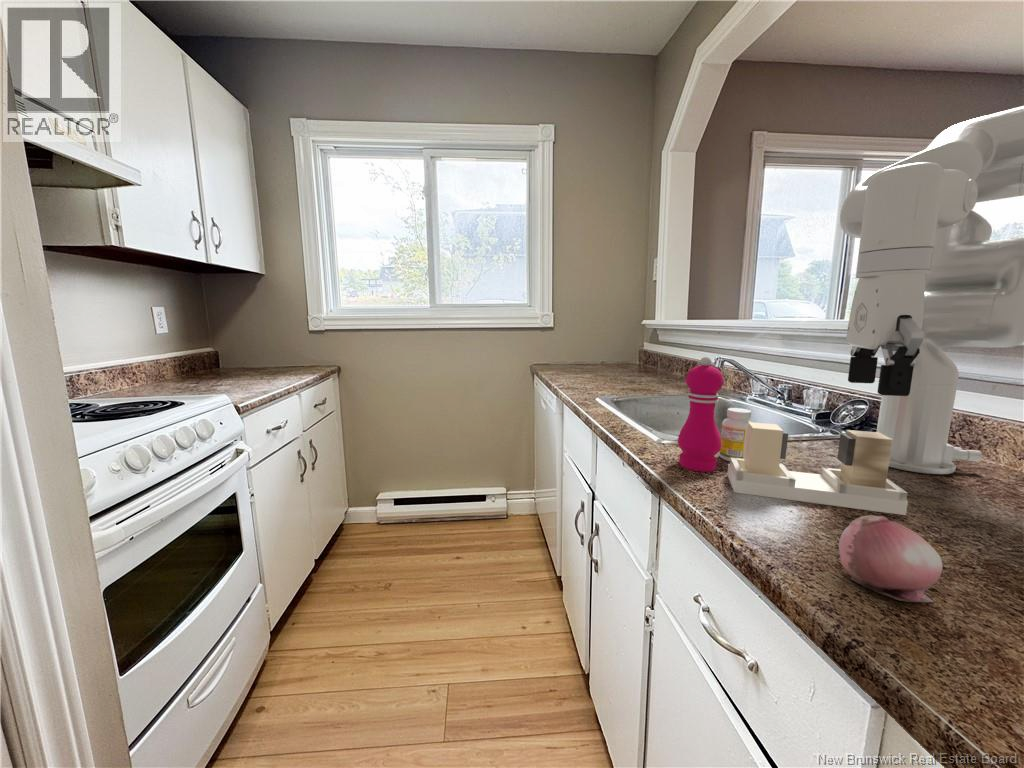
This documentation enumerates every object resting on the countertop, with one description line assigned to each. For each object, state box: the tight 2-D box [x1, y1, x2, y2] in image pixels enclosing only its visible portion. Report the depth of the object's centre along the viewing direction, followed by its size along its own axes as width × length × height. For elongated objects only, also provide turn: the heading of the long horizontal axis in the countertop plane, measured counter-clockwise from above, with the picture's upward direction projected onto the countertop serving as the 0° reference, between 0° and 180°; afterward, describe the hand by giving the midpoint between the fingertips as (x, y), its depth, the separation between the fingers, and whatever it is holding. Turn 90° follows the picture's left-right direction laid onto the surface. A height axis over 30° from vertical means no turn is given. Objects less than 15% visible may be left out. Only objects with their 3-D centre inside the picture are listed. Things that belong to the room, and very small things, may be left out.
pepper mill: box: [677, 356, 724, 473], centre depth 74 cm, size 7×7×20 cm
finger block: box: [836, 429, 893, 488], centre depth 61 cm, size 5×4×8 cm
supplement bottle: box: [718, 407, 752, 462], centre depth 79 cm, size 5×5×10 cm
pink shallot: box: [838, 514, 944, 604], centre depth 41 cm, size 8×8×7 cm
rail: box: [727, 421, 909, 516], centre depth 63 cm, size 21×8×10 cm, turn 70°
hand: (875, 388), depth 59 cm, fingers open, 9 cm apart
